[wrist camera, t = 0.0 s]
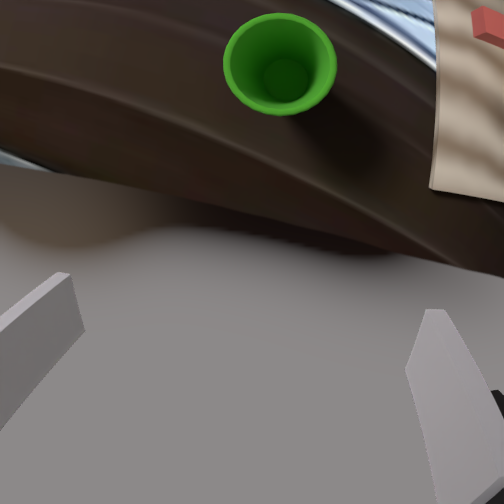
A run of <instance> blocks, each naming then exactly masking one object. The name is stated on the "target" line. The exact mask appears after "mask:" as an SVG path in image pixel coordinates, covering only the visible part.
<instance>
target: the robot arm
mask: <svg viewBox="0 0 504 504" xmlns="http://www.w3.org/2000/svg"><path fill="white" fill-rule="evenodd" d="M84 332H85V329H84V325H83V322H82V318H81V314H80V311H79V307H78V304H77V299H76V295H75V291H74V287H73V282H72V278H71V274H66V273H60V272H57V273H55V274H54V275H53V276H51V277H50V278H49V279H47V280H46V281H45V282H43V283H42V284H41V285H39V286H38V287H37V288H35V289H34V290H33V291H32V292H30V293H29V294H28V295H26V296H25V297H24V298H23V299H21V300H20V301H19V302H17V303H16V304H15V305H14V306H13V307H11V308H10V309H9V310H8V311H6V312H5V313H4V314H3V315H1V316H0V431H1V429H2V428H3V427H4V425H5V424H6V423H7V422H8V420H9V419H10V418H11V417H12V415H13V414H14V413H15V412H16V410H17V409H18V408H19V407H20V406H21V404H22V403H23V402H24V401H25V399H26V398H27V397H28V396H29V395H30V393H31V392H32V391H33V390H34V388H35V387H36V386H37V385H38V384H39V383H40V381H41V380H42V379H43V378H44V377H45V376H46V375H47V373H48V372H49V371H50V370H51V369H52V368H53V366H54V365H55V364H56V363H57V362H58V361H59V360H60V359H61V357H62V356H63V355H64V354H65V353H66V352H67V351H68V350H69V348H70V347H71V346H72V345H73V344H74V343H75V342H76V341H77V340H78V338H79V337H80V336H81V335H82V334H83V333H84ZM405 373H406V376H407V379H408V383H409V386H410V389H411V393H412V396H413V400H414V404H415V407H416V411H417V414H418V418H419V422H420V426H421V429H422V434H423V438H424V442H425V446H426V450H427V455H428V459H429V464H430V468H431V473H432V478H433V483H434V488H435V493H436V499H437V504H504V395H502V393H501V392H500V391H499V390H493V391H490V389H489V387H488V385H487V383H486V381H485V379H484V377H483V375H482V374H481V372H480V370H479V368H478V366H477V364H476V363H475V361H474V359H473V357H472V355H471V353H470V351H469V350H468V348H467V346H466V344H465V343H464V341H463V339H462V337H461V336H460V334H459V332H458V331H457V329H456V328H455V326H454V324H453V322H452V321H451V319H450V317H449V316H448V314H447V313H446V311H445V310H443V309H426V310H425V314H424V317H423V320H422V323H421V326H420V329H419V332H418V335H417V338H416V341H415V343H414V346H413V349H412V352H411V354H410V357H409V360H408V362H407V365H406V367H405Z"/></svg>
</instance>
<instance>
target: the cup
mask: <svg viewBox="0 0 504 504" xmlns="http://www.w3.org/2000/svg"><path fill="white" fill-rule="evenodd" d="M223 71H224V74H225V78H226V82H227V84H228V85H229V87H230V89H231V91H232V92H233V94H234V95H235V96H236V97H237V98H238V99H239V100H240V101H241V102H242V103H243V104H245V105H247V106H248V107H250V108H251V109H253V110H255V111H258V112H261V113H264V114H266V115H275V116H287V115H295V114H298V113H301V112H304V111H307V110H309V109H310V108H312V107H313V106H315V105H317V104H318V103H319V102H320V101H321V100H322V99H323V98H324V97H325V96H326V95H327V94H328V93H329V91H330V89H331V87H332V85H333V84H334V81H335V77H336V73H337V57H336V54H335V50H334V47H333V45H332V43H331V41H330V40H329V38H328V37H327V35H326V34H325V33H324V32H323V31H322V30H321V29H320V28H319V27H318V26H317V25H315V24H314V23H312V22H310V21H309V20H307V19H305V18H302V17H299V16H296V15H293V14H285V13H273V14H266V15H262V16H260V17H257V18H254V19H252V20H250V21H249V22H247V23H245V24H244V25H242V26H241V27H240V28H239V29H238V30H237V31H236V32H235V33H234V34H233V36H232V37H231V39H230V41H229V43H228V44H227V46H226V50H225V54H224V58H223Z"/></svg>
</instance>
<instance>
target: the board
mask: <svg viewBox="0 0 504 504" xmlns="http://www.w3.org/2000/svg"><path fill="white" fill-rule="evenodd" d="M432 2H433V12H434V24H435V39H436V70H437V86H436V118H435V134H434V147H433V157H432V167H431V175H430V183H429V188H431V189H433V190H439V191H445V192H452V193H458V194H463V195H469V196H474V197H480V198H485V199H490V200H495V201H500V202H504V49H502V48H500V47H497V46H495V45H492V44H490V43H487V42H485V41H482V40H479V39H477V38H474V37H473V28H472V18H471V12H472V11H474V10H476V9H477V8H479V7H481V6H485V7H487V8H490V9H492V10H494V11H497V12H499V13H501V14H503V15H504V0H432Z"/></svg>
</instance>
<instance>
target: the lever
mask: <svg viewBox="0 0 504 504" xmlns="http://www.w3.org/2000/svg"><path fill="white" fill-rule="evenodd" d="M471 18H472V28H473V37H474V38H477V39H479V40H482V41H485V42H487V43H490V44H492V45H495V46H497V47H500V48H502V49H504V15H503V14H501V13H499V12H497V11H494V10H492V9H490V8H487V7H485V6H481V7H479V8H477V9H476V10H474V11H472V12H471Z"/></svg>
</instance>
